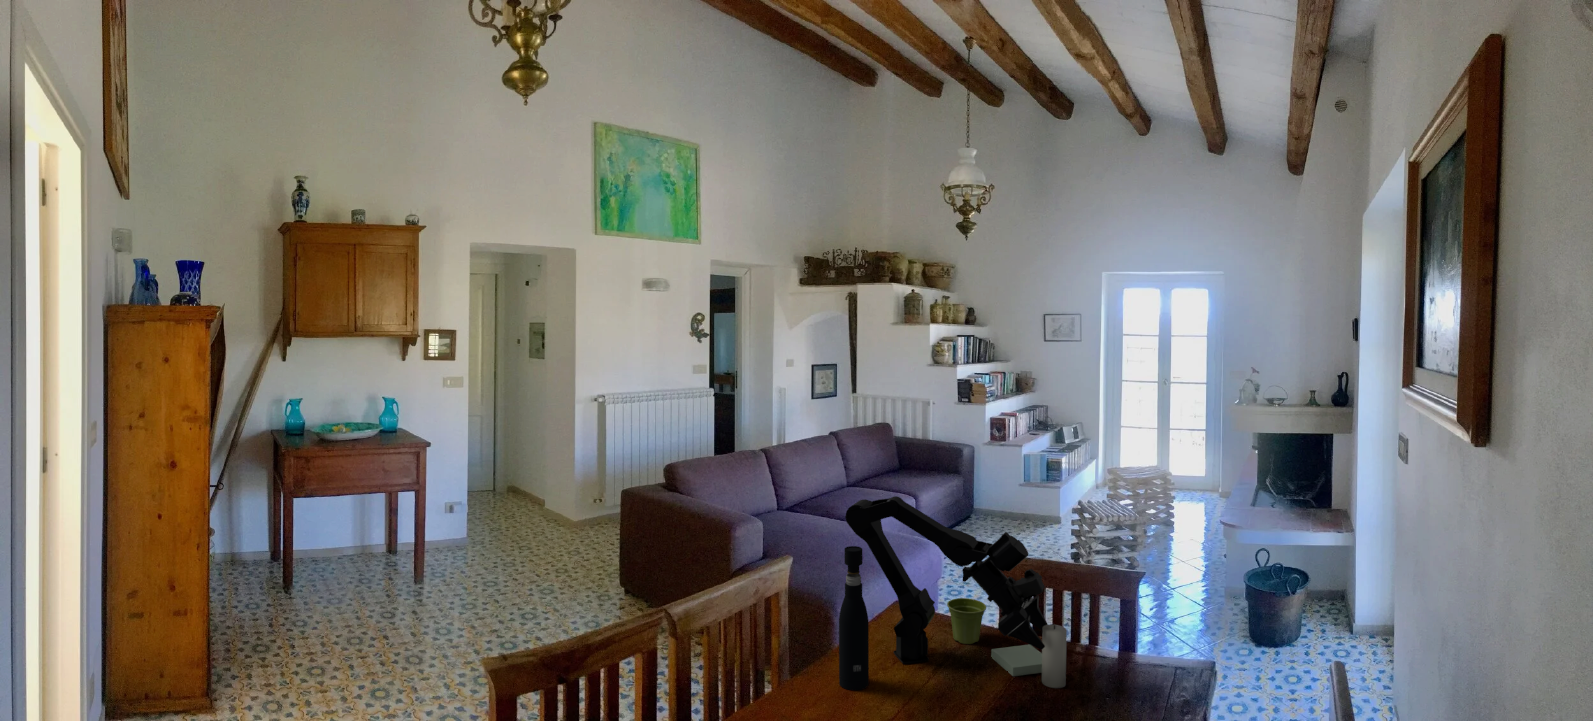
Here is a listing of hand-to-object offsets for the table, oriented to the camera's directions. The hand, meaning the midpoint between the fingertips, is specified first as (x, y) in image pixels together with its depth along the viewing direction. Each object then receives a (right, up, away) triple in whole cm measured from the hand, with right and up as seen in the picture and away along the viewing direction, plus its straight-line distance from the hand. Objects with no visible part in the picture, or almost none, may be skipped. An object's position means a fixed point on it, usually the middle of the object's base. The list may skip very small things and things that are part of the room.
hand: (1046, 639), depth 179 cm
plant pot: (-13, -8, +23) cm, 28 cm away
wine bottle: (-42, -10, 0) cm, 43 cm away
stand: (-3, -9, +9) cm, 13 cm away
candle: (+2, -9, 0) cm, 9 cm away
